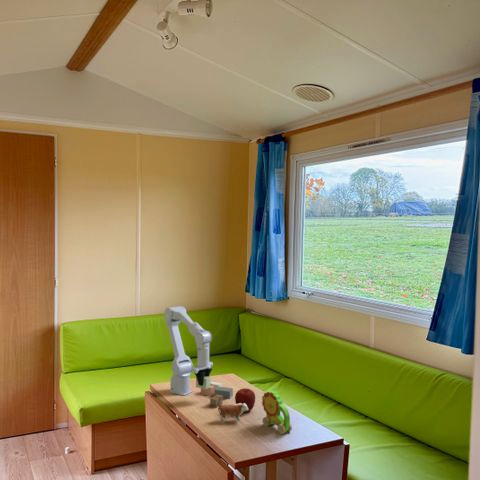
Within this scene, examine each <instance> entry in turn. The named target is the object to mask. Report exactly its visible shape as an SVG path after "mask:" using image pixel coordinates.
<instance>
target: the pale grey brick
mask: <svg viewBox="0 0 480 480" xmlns="http://www.w3.org/2000/svg"><path fill="white" fill-rule="evenodd" d="M210 386H214V393H215V389H216V388H217V387H223V383H221V382H218V381H217V382H216V381H210Z"/></svg>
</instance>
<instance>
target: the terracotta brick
mask: <svg viewBox="0 0 480 480" xmlns="http://www.w3.org/2000/svg"><path fill="white" fill-rule="evenodd" d="M200 394H201V395H205V396H209V397H211V396H213V395H215V392H214V386H210V387H209V388H208V389H203V388H200Z"/></svg>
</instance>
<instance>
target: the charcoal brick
mask: <svg viewBox="0 0 480 480" xmlns="http://www.w3.org/2000/svg"><path fill="white" fill-rule="evenodd" d="M233 393H234V389H233V387H225V386H222V387H217V388H216V389H215V392H214V396H215V395H221V396H223V399H227V400H231V398H232V397H233Z"/></svg>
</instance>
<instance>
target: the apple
mask: <svg viewBox="0 0 480 480" xmlns="http://www.w3.org/2000/svg"><path fill="white" fill-rule="evenodd" d="M234 398H235V399H234V400H235V401H234V402H235V404H239V403H241V404H243V403H246V405H247V407H248V409H249V410H248V411H243V413H247V412H248V413H249V412H250V411H252V410H253V409H254V407H255V403H256V393H255V392H254V391H253V390H252V389H250V388H247V387H246V388H245V387H244V388H240V389H238V390H237V392H236V393H235V397H234Z"/></svg>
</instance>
